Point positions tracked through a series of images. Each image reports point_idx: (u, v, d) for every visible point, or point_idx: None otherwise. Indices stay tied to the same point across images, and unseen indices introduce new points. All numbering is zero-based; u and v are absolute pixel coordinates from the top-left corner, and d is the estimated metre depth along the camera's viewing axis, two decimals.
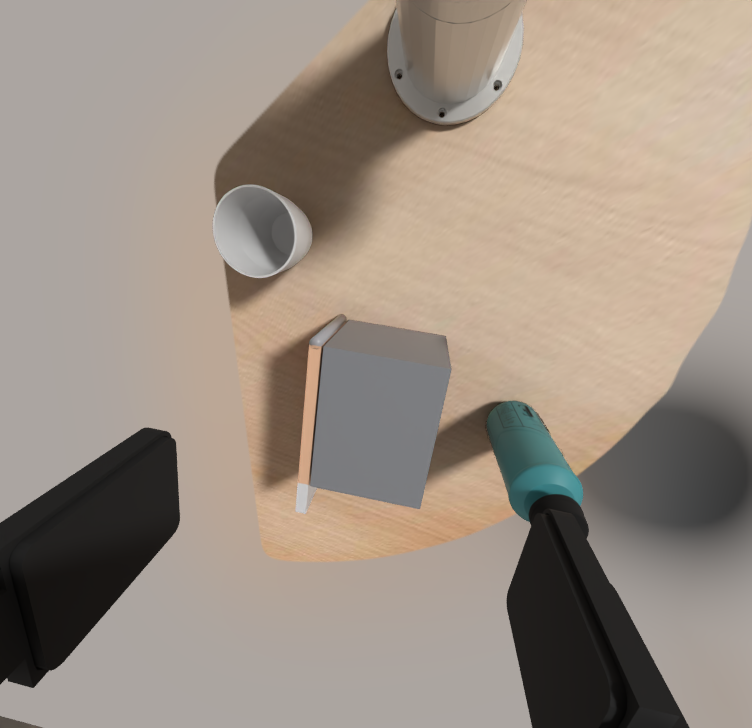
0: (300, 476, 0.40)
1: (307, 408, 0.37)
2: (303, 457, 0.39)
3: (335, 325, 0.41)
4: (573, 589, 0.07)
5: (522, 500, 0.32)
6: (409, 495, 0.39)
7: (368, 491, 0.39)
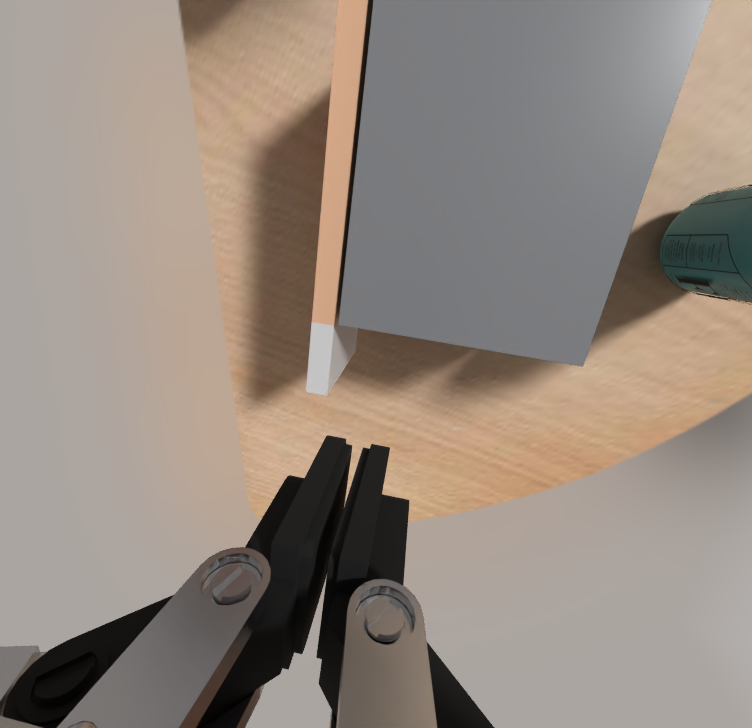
0: (317, 306, 0.19)
1: (336, 117, 0.16)
2: (324, 256, 0.18)
3: None
4: (352, 494, 0.08)
5: None
6: (563, 332, 0.17)
7: (468, 328, 0.18)
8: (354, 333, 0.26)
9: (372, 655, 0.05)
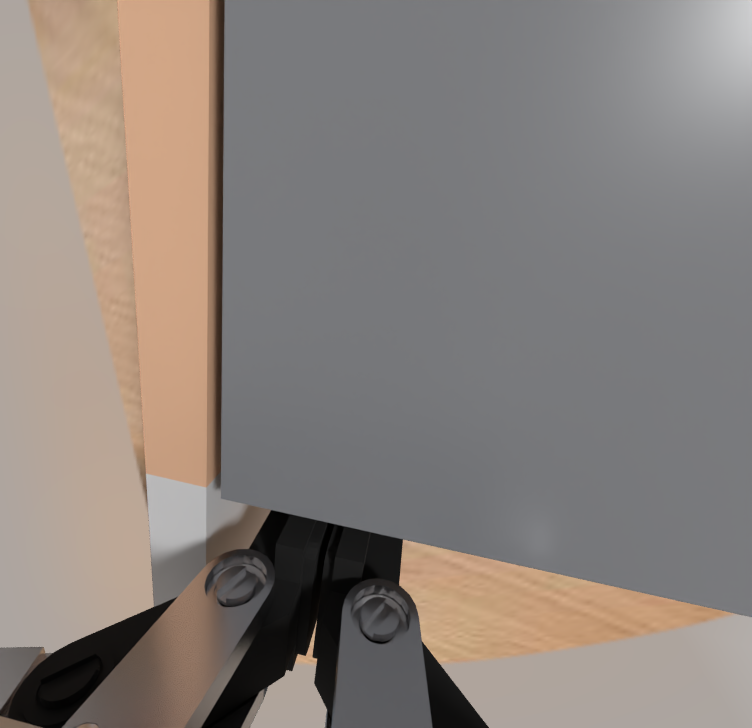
0: (155, 435, 0.07)
1: None
2: (158, 299, 0.06)
3: None
4: None
5: None
6: None
7: (620, 540, 0.06)
8: None
9: (367, 655, 0.05)
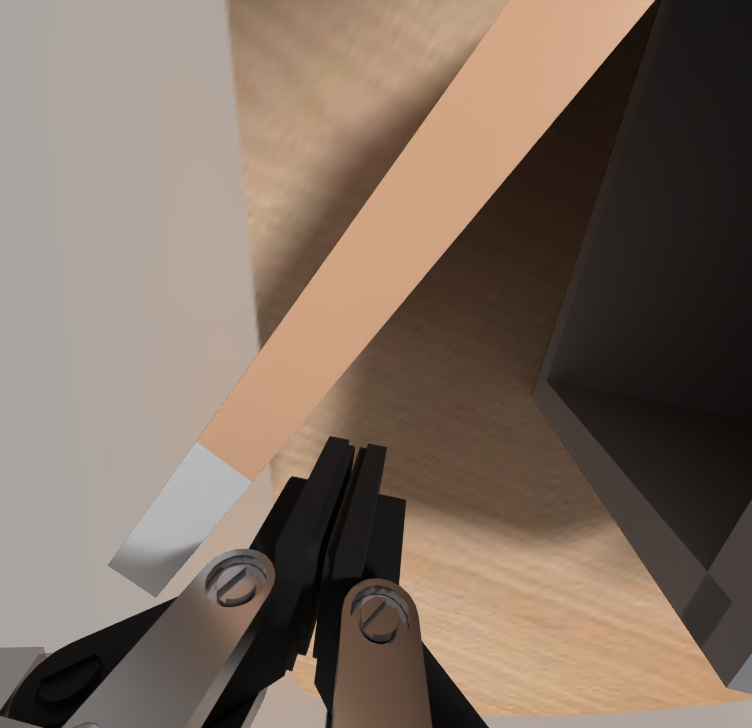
0: (232, 415, 0.06)
1: None
2: (325, 306, 0.05)
3: None
4: (348, 494, 0.08)
5: None
6: None
7: None
8: None
9: (367, 655, 0.05)
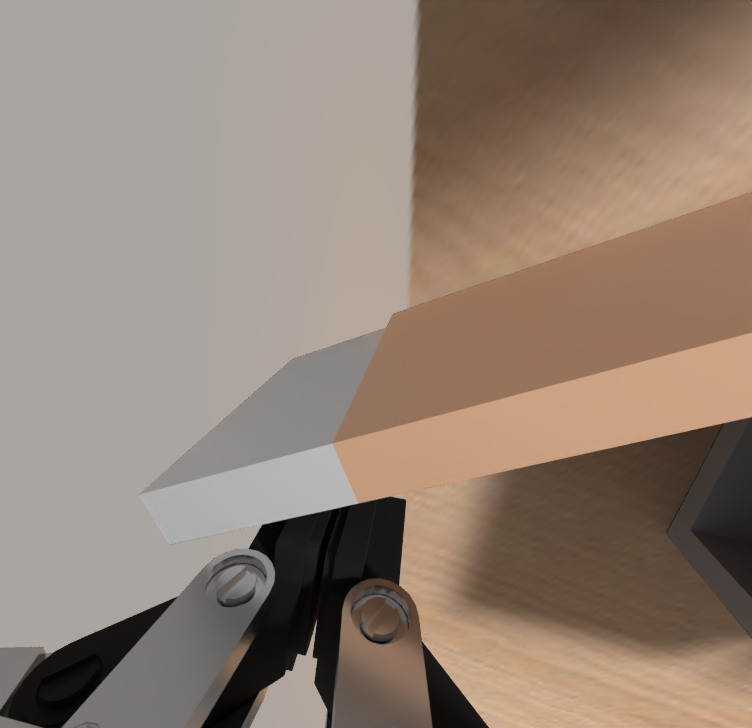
0: (388, 443, 0.06)
1: None
2: (554, 410, 0.05)
3: None
4: None
5: None
6: None
7: None
8: None
9: (367, 655, 0.05)
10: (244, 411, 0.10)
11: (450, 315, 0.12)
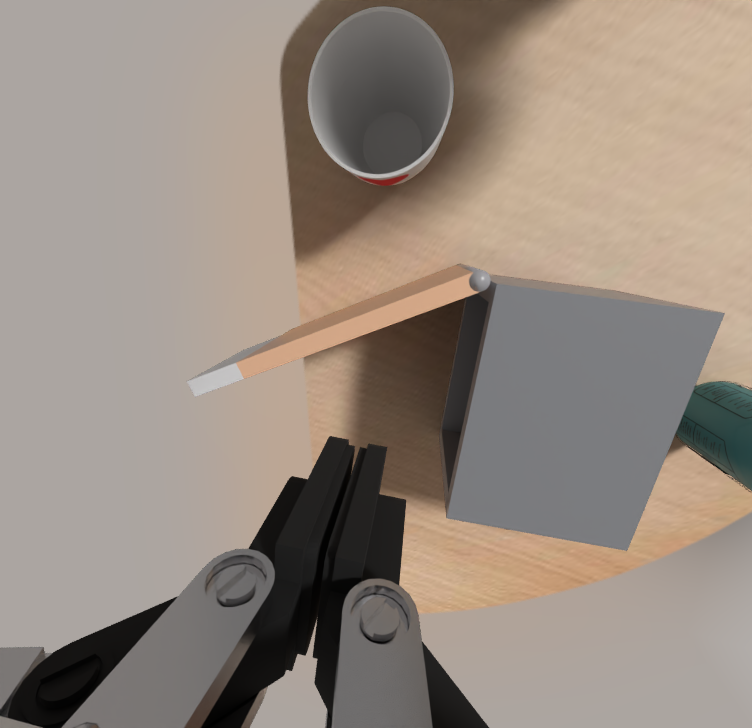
0: (248, 361, 0.24)
1: (366, 319, 0.22)
2: (282, 351, 0.24)
3: None
4: (348, 494, 0.08)
5: None
6: (612, 529, 0.24)
7: (543, 524, 0.25)
8: None
9: (367, 655, 0.05)
10: (218, 365, 0.28)
11: (300, 329, 0.30)
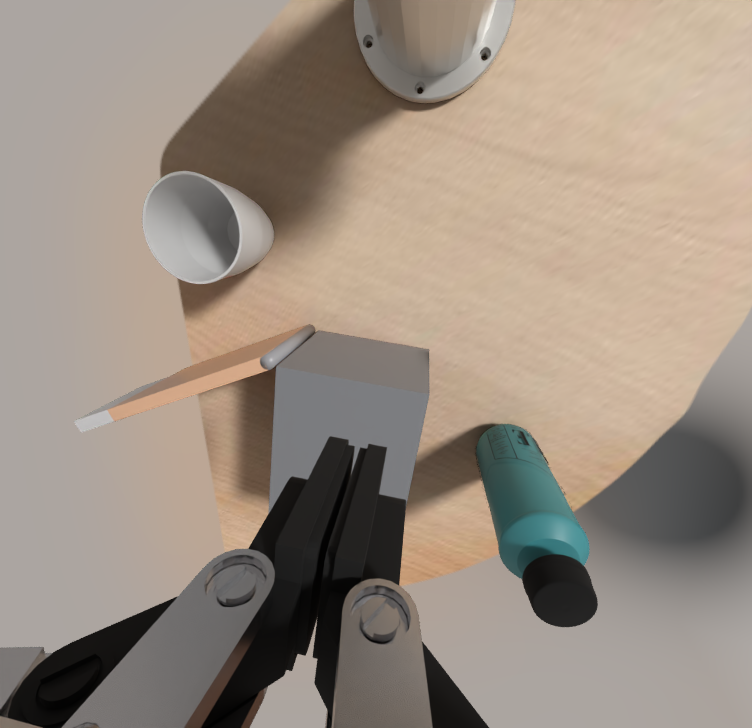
0: (116, 409, 0.33)
1: (193, 384, 0.31)
2: (138, 403, 0.32)
3: (299, 344, 0.35)
4: (348, 494, 0.08)
5: (515, 557, 0.26)
6: None
7: None
8: None
9: (367, 655, 0.05)
10: (107, 404, 0.37)
11: (178, 375, 0.39)
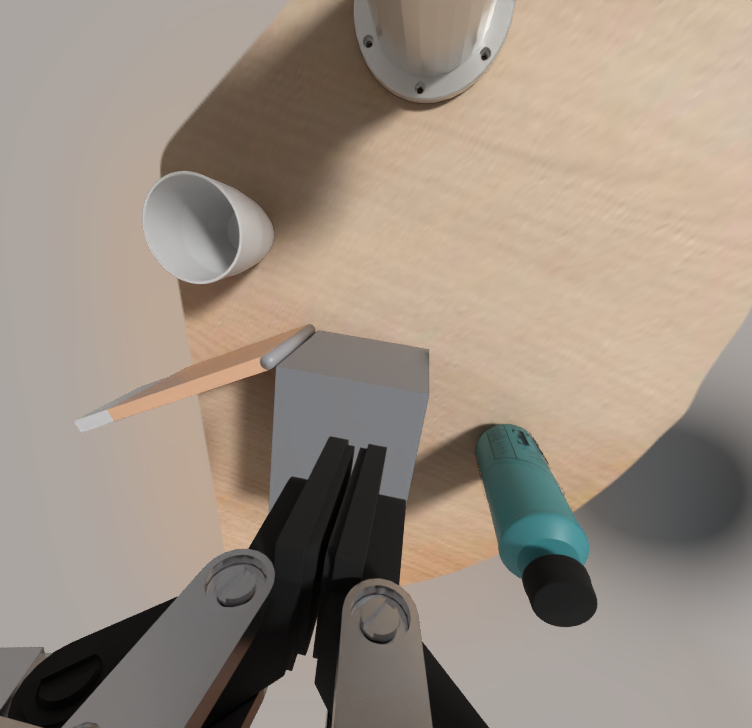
0: (116, 409, 0.33)
1: (193, 384, 0.31)
2: (138, 403, 0.32)
3: (299, 344, 0.35)
4: (348, 494, 0.08)
5: (514, 557, 0.26)
6: None
7: None
8: None
9: (367, 655, 0.05)
10: (107, 404, 0.37)
11: (178, 375, 0.39)
